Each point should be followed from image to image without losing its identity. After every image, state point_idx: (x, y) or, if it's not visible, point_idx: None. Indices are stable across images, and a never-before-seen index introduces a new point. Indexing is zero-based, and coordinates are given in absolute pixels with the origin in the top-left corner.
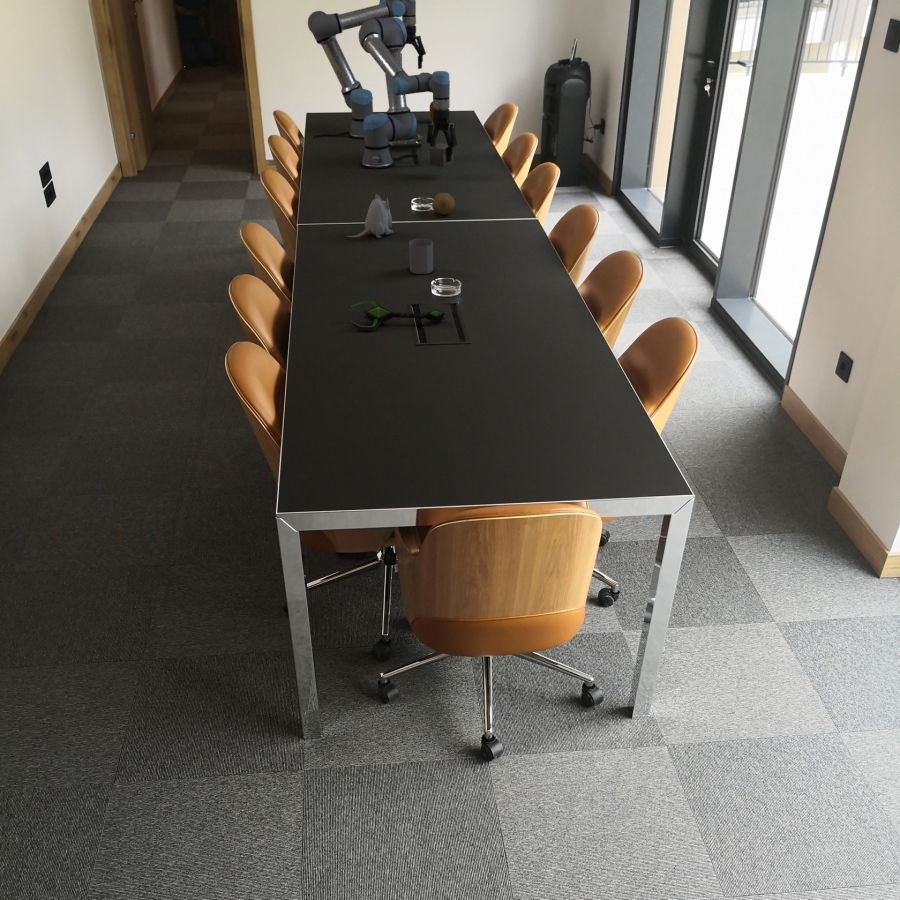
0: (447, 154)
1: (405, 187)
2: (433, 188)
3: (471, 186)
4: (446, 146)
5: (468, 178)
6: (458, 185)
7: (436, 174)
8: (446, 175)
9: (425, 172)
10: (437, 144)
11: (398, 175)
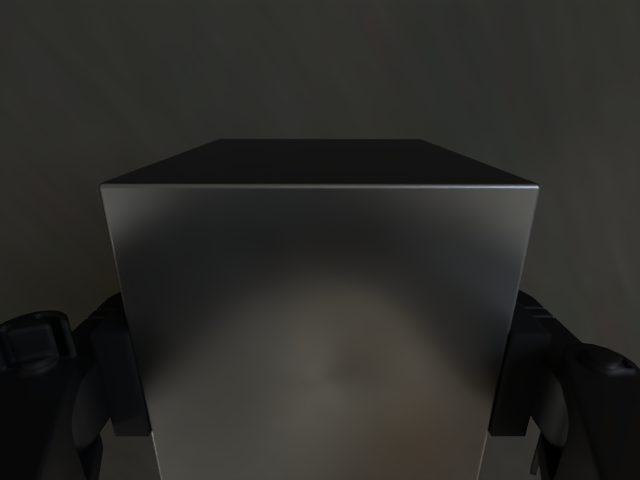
0: None
1: None
2: None
3: (618, 259)
4: (434, 367)
5: (520, 75)
6: (519, 287)
7: (210, 125)
8: (300, 103)
9: (92, 125)
10: (153, 323)
11: (10, 308)
